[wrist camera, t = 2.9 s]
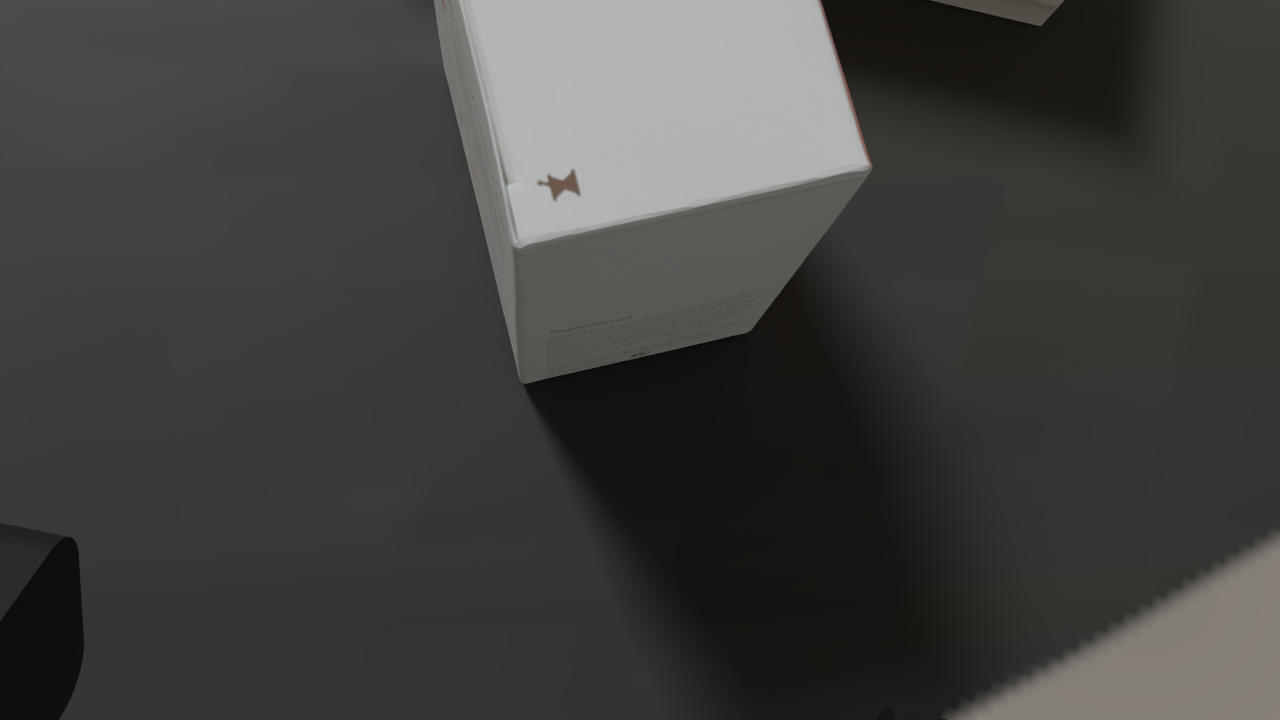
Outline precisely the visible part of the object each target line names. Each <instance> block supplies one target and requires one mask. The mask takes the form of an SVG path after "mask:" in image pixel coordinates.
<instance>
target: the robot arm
mask: <svg viewBox="0 0 1280 720" xmlns="http://www.w3.org/2000/svg"><path fill="white" fill-rule="evenodd" d="M83 652H84V636H83V619H82V602H81V585H80V568H79V553H78V547H77V544H76V542H75V540H74V539H73V538H71V537H66V536H61V535H56V534H51V533H47V532H42V531H37V530H32V529H27V528H22V527H17V526H12V525H7V524H3V523H0V720H59V719H60V717H61V715H62V714H63V712H64V710H65V708H66V707H67V705H68V703H69V700H70V698H71V696H72V694H73V691H74V689H75V686H76V683H77V680H78V676H79V673H80V669H81V665H82V659H83ZM876 720H946V719H941V718H936V717H931V716H926V715H921V714H916V713H911V712H906V711H902V710H897V709H892V708H885V709H883V710H882V711H881V712H880V714H879V715H878V717H877V719H876Z"/></svg>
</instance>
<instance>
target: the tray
mask: <svg viewBox="0 0 1280 720" xmlns="http://www.w3.org/2000/svg"><path fill="white" fill-rule="evenodd" d="M931 1H935V2H939V3H944V4H948V5H952V6H956V7H961V8H965V9H969V10H973V11H978V12H982V13H986V14H991V15H995V16H999V17H1003V18H1008V19H1012V20H1016V21H1020V22H1025V23H1029V24H1033V25H1037V26H1042V25H1043V24H1044V22H1045V21H1046V20H1047V19H1048V18H1049V17H1050V16H1051V15H1052V14H1053V12H1054V11H1055V10H1056V9H1057V8H1058V7H1059V6H1060V5H1061V4H1062V3H1063V1H1064V0H931Z"/></svg>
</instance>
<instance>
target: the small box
mask: <svg viewBox="0 0 1280 720" xmlns="http://www.w3.org/2000/svg"><path fill="white" fill-rule="evenodd" d="M434 5H435V12H436V18H437V25H438V32H439V38H440V45H441V51H442V58H443V63H444V69H445V74H446V77H447V81H448V85H449V89H450V93H451V97H452V101H453V105H454V109H455V114H456V118H457V122H458V126H459V130H460V134H461V138H462V142H463V146H464V150H465V154H466V159H467V163H468V167H469V171H470V175H471V179H472V183H473V187H474V191H475V195H476V199H477V203H478V207H479V211H480V215H481V220H482V224H483V228H484V232H485V237H486V241H487V245H488V249H489V253H490V258H491V262H492V266H493V270H494V275H495V279H496V283H497V287H498V291H499V295H500V300H501V304H502V308H503V312H504V316H505V320H506V324H507V328H508V332H509V336H510V341H511V345H512V349H513V353H514V357H515V362H516V366H517V370H518V374H519V378H520V381H521V382H522V383H524V384H527V383H531V382H535V381H539V380H543V379H547V378H551V377H556V376H560V375H565V374H569V373H574V372H578V371H582V370H587V369H591V368H595V367H600V366H604V365H608V364H613V363H617V362H621V361H626V360H630V359H635V358H639V357H644V356H648V355H653V354H657V353H661V352H666V351H670V350H674V349H679V348H683V347H687V346H692V345H696V344H700V343H705V342H709V341H713V340H717V339H722V338H726V337H730V336H734V335H739V334H744V333H747V332H749V331H751V330H752V329H753V327H754V326H755V324H756V323H757V322H758V320H759V319H760V318H761V317H762V315H763V314H764V313H765V311H766V310H767V309H768V308H769V306H770V305H771V304H772V302H773V301H774V300H775V298H776V297H777V296H778V295H779V293H780V292H781V291H782V289H783V288H784V286H785V285H786V284H787V282H788V281H789V280H790V279H791V277H792V276H793V275H794V273H795V272H796V271H797V269H798V268H799V267H800V265H801V264H802V263H803V262H804V260H805V259H806V257H807V256H808V255H809V253H810V252H811V251H812V249H813V248H814V247H815V245H816V244H817V243H818V242H819V240H820V239H821V238H822V236H823V235H824V234H825V232H826V231H827V230H828V228H829V227H830V226H831V225H832V223H833V222H834V221H835V219H836V218H837V217H838V215H839V214H840V213H841V211H842V210H843V209H844V207H845V206H846V204H847V203H848V202H849V200H850V199H851V198H852V197H853V195H854V194H855V193H856V191H857V190H858V189H859V187H860V186H861V184H862V183H863V182H864V180H865V179H866V178H867V176H868V175H869V173H870V172H871V170H872V164H871V161H870V158H869V155H868V152H867V149H866V146H865V143H864V139H863V136H862V133H861V130H860V126H859V123H858V119H857V116H856V113H855V109H854V106H853V102H852V99H851V96H850V93H849V89H848V86H847V83H846V80H845V77H844V74H843V71H842V67H841V64H840V61H839V58H838V55H837V51H836V48H835V45H834V41H833V38H832V35H831V31H830V28H829V25H828V22H827V18H826V15H825V12H824V9H823V5H822V2H821V0H434Z"/></svg>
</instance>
